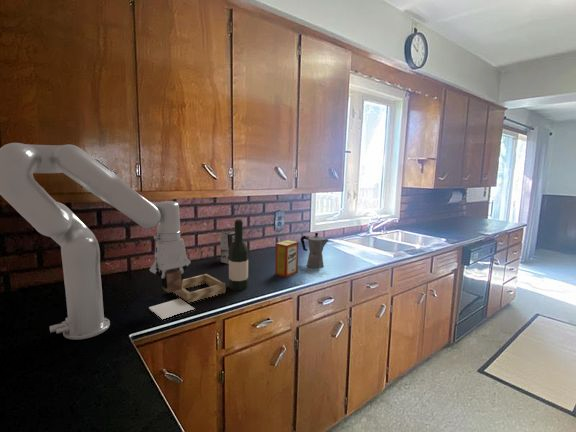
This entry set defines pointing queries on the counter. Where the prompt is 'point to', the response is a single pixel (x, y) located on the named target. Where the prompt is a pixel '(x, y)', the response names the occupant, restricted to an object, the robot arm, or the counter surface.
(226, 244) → the coffee box
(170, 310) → the stone pad
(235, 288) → the wine bottle
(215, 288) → the oak frame
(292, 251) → the baking soda box
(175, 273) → the walnut block
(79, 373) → the counter surface
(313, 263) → the coffeepot
